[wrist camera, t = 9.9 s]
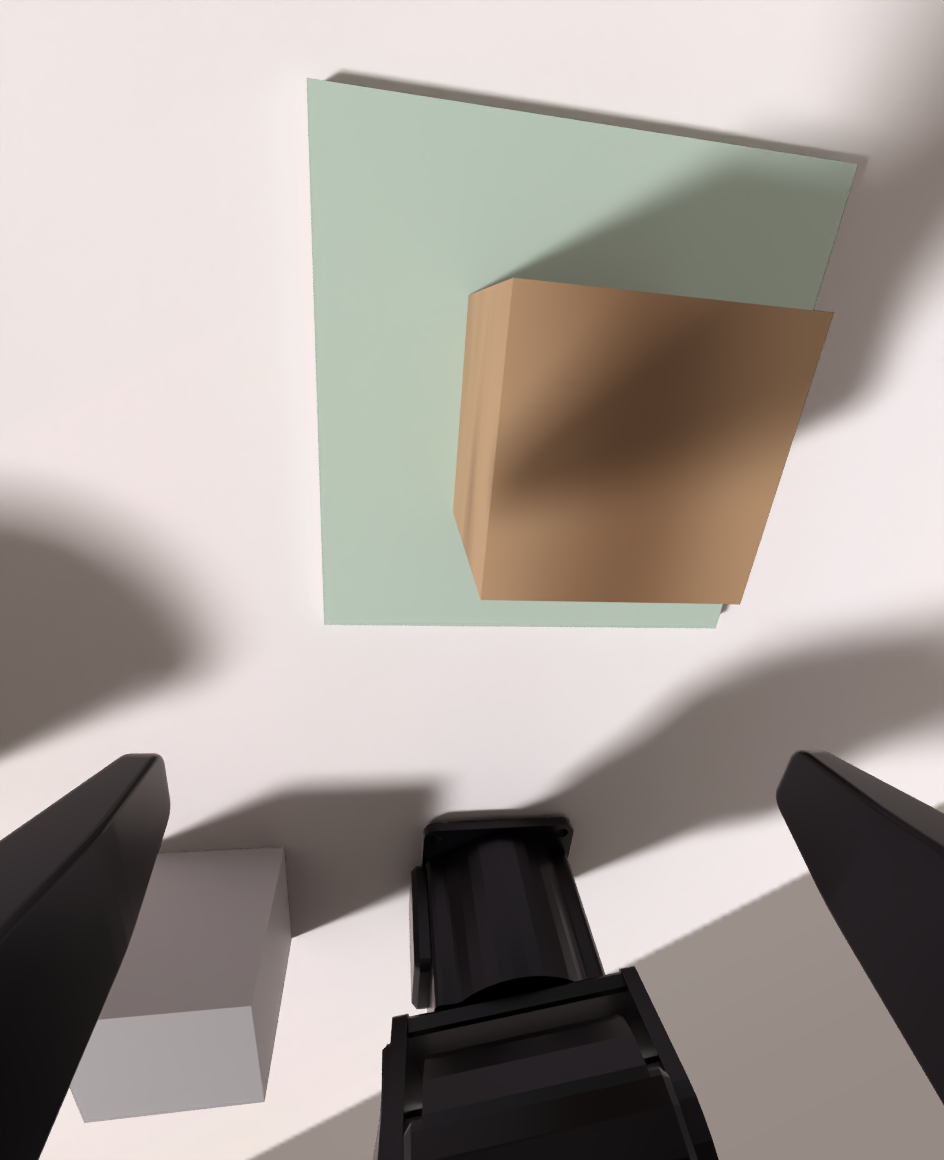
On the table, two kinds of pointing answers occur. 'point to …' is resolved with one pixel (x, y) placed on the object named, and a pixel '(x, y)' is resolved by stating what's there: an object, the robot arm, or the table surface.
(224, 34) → the table surface
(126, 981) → the medium grey block
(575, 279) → the sage mat
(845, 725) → the table surface
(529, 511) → the tan cube
